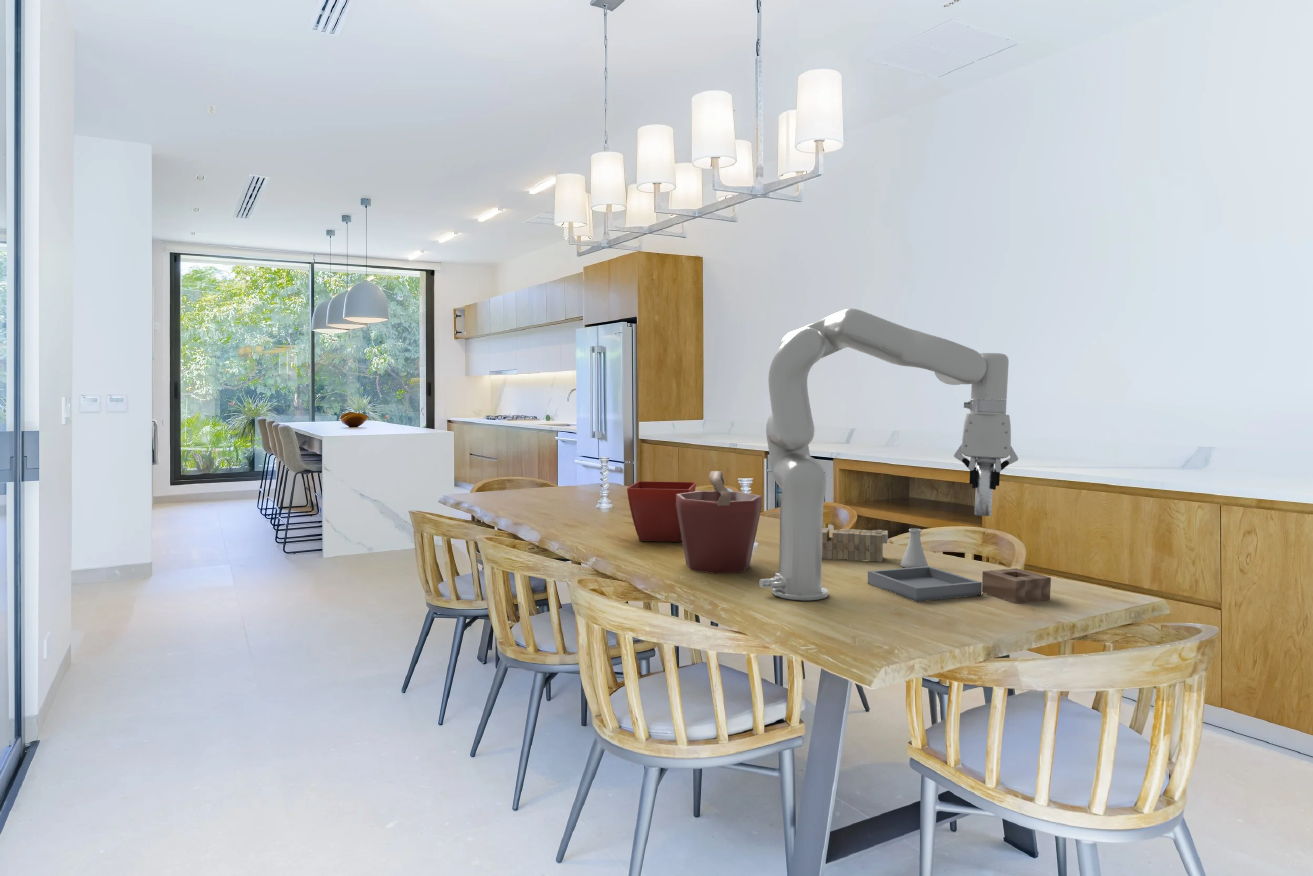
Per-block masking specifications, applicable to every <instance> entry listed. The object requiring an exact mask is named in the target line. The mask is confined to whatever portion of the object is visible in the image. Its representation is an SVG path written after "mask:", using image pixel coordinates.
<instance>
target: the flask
mask: <svg viewBox="0 0 1313 876" xmlns="http://www.w3.org/2000/svg"><path fill="white" fill-rule="evenodd" d="M908 532H909V539H908V544H907V547H906V548H905V551H904V554H903V557H902V559H901V561H900V564H899V566H900V567H902V568H912V567H924V566H929V565H928V561H927V558H926V555H925V552H924V549H923V546H922V540H921V533H922V529H920V528H909V529H908Z"/></svg>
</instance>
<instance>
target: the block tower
mask: <svg viewBox="0 0 1313 876" xmlns="http://www.w3.org/2000/svg"><path fill="white" fill-rule="evenodd" d="M831 534H832V536H830V528H829V527H823V528H822V558H823V559H822V560H835V559H847V560H846V561H850V560H868V561H882V562H883V558H884V557H883V556H884V548H883V547H884V545H883V544H888V540H889V532H888V530H883V529H873V530H868V529H867V530H866V529H856V528H855V529H853V528H840V529H833V531H832V533H831Z"/></svg>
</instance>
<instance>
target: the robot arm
mask: <svg viewBox="0 0 1313 876" xmlns="http://www.w3.org/2000/svg"><path fill="white" fill-rule="evenodd" d="M778 347H779V348H778V349H777V350H776V353H775V354H774V356H773V358H772V361H771V363H770V366H769V372H768V379H767V380H768V382H767V383H768V392H769V393H768V394H769V398H770V399H769V401H770V407H771V414H770V415H769V417H768V419H767V421H766V425H765V434H766V441H767V447H768V449H767V450H768V453H769V460H770V466H771V471H772V475H773V479H774V481H775V482H776V484H777V485H778V487H779V488H780V489H781V499H780V509H779V556H778V557H779V559H778V560H779V563H778V565H779V567H778V572H774V576H772V577H771V578H760V579H759V582H758V584H759V588H761V589H762V588H770V589H771V593H772V594H773V595H774V596H775V597H779V598H781V599H785V600H792V601H819V600H823V599H825V598H827V597H828V596H829V590H828V589H827V588H826V587H825V586H823V585H822V572H823V570H822V566H823V564H822V563H823V562H822V561H823V559H822V528H824V525H823V524H824V523H823V522H824V521H823V518H824V515H823V514H824V504H825V503H824V502H825V496H826V495H825V494H826V486H827V479H826V478H827V476H826V472H825V470H824V468H823V466H822V464H821V463H820V462H819V460H817V459H816V458H814V457H812V456H811V454H810V447H809V445H810V444H811V442H812V441H813V440H814V436H815V424H814V420H813V417H812V416H813V415H812V409H811V403H810V398H809V389H808V378H809V372H810V371H811V369H812V368H813V366H814V365H815V364H816V363H818V362H819V360H821V359H823V358H826V357H827V356H830V355H833V354H835V353H837V352H839V351H841V350H843V349H846V348H850V349H852V350H855V351H858V352H861V353H864V354H866V355H869V356H871V357H874V358H876V359H880V360H882V361H885V362H886V363H890V364H893V365H896V366H901V367H910V368H919V369H923V370H928V371H931V372H933V373H934V375H935V376H936V378H937V379H938V380H939V381H940V382H941V383H943V384H946V385H950V386H951V385H953V386H956V385H971V393H970V400H969V401H964V402H963V408H964V409H968V410H969V413H966V414H965V418H964V423H963V430H962V437H961V438H962V439H961V444H960V446H959V447H958V449H957V450H956V451H955V452H954V454H953V457H954V459H956V460H958V461H959V462H961V463H963V465H965V466H966V468H967V469H968V470H969V482H968V484H969V485H971V488H972V489H976V475H977V463H976V462H975V457H978V458H996V464H994V472H993V480H992V489H993V491H994V490H995V491H996V490H997V487H1000V477H1001V476H1000V475H1001V471H1002V470H1004V469H1005V468H1006V467H1008V466H1010V465H1011V464H1013V463H1015V462H1017V461H1018V460H1019V457H1018V455H1017V453H1016V452H1015V450H1014V449H1013V446H1012V445H1011V444H1012V428H1011V427H1012V426H1011V418H1010V414H1007V400H1008V399H1007V398H1008V396H1007V395H1008V380H1009V357H1008V355H1006V354H1004V353H1000V352H999V353H998V352H982V353H980V352H978V351H977V350H975V349H973V348H970V347H968V346H965V345H962V344H960V343H958V342H955V341H953V340H949V339H947V338H943V337H940V336H936V335H932V334H929V333H926V332H922V331H920V330H915V329H911V328H908V327H905V326H903V325H901V324H897V323H896V322H892V321H890V320H887V319H885V318H883V317H879V316H877V315H874V314H872V313H869V312H867V311H864V310H861V309H857V308H846V309H842V310H840V311H837V312H835V313H833V314H831V315H828V316H826V317H824V318H822V319H820V320H817V321H815V322H813V323H810V324H807V325H805V326H802V327H800V328H798V329H795V330H792V331H789V332H788V333H786V335H784V336H783V338H782V339H781V341H780V343H779V346H778ZM967 457H968V458H970V459H968V458H967ZM1008 457H1009V458H1008ZM1003 459H1005V460H1003ZM1002 460H1003V461H1002Z"/></svg>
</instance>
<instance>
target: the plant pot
mask: <svg viewBox="0 0 1313 876" xmlns="http://www.w3.org/2000/svg"><path fill="white" fill-rule="evenodd" d="M696 486H697V482H695V481H693V482H692V481H654V480H653V481H649V480H648V481H645V480H642V481H641V480H639V481H635V482H634V483H633V484H631V485H630V486H628V487H626V491H627V498H628V499H627V500H628V504H629V505H628V506H629V509H630V513H631V514H630V515H631V517H632V518H631V519H632V522H633V525H634V528H635V532H636V535H637V538H638V540H639V541H641V542H663V543H664V542H667V543H668V542H669V543H670V542H671V543H672V542H673V543H680V542H681V541H682V537H681V531H680V526H679V520H678V514H677V508H676V494H680V493H688V492H696V488H697V487H696Z"/></svg>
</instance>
